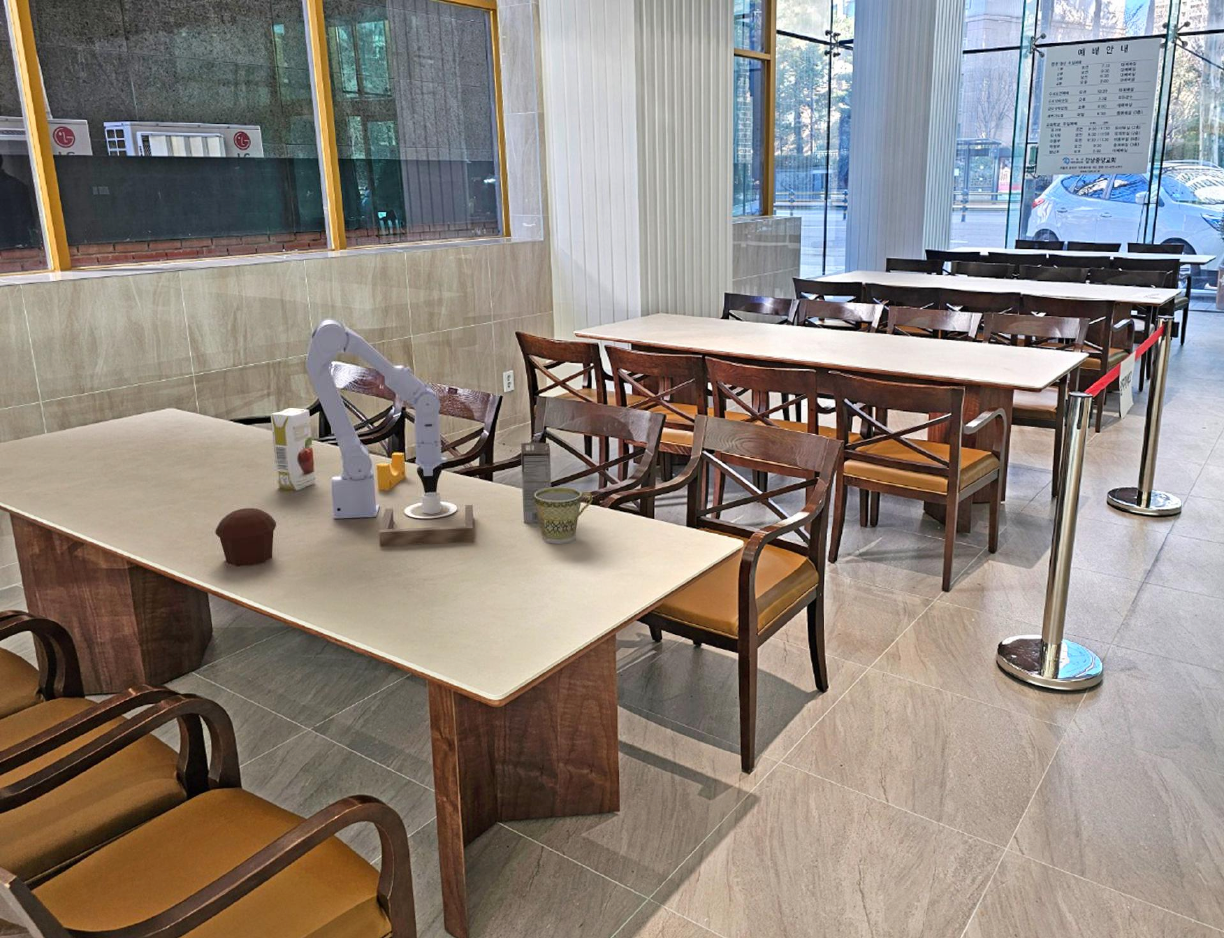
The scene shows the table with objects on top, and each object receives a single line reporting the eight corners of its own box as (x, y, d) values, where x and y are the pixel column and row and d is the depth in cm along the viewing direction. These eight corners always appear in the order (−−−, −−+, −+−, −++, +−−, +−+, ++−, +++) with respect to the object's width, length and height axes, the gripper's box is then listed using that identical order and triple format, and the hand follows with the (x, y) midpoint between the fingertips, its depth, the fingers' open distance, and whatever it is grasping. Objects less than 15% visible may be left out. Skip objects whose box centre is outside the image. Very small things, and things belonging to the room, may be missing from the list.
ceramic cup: (546, 550, 202) (545, 503, 199) (527, 535, 210) (526, 490, 207) (603, 539, 207) (602, 494, 205) (582, 525, 216) (582, 482, 213)
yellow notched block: (389, 476, 254) (387, 452, 252) (405, 477, 253) (404, 452, 251) (371, 490, 242) (369, 465, 241) (388, 490, 242) (386, 465, 240)
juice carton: (273, 488, 243) (265, 413, 238) (296, 479, 251) (289, 406, 245) (297, 492, 240) (290, 416, 235) (320, 482, 248) (313, 409, 243)
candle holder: (411, 524, 218) (410, 505, 217) (399, 508, 229) (398, 490, 228) (463, 516, 223) (462, 498, 222) (449, 501, 234) (448, 484, 232)
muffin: (243, 573, 190) (237, 524, 187) (206, 562, 196) (200, 514, 193) (291, 554, 200) (287, 507, 197) (255, 544, 205) (250, 498, 202)
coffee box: (523, 510, 227) (521, 442, 222) (550, 509, 227) (549, 441, 223) (522, 523, 218) (520, 452, 213) (552, 522, 218) (550, 452, 214)
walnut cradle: (380, 545, 204) (379, 532, 203) (386, 521, 219) (385, 508, 218) (473, 541, 207) (472, 527, 206) (473, 517, 221) (472, 504, 221)
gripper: (444, 448, 219) (447, 506, 222) (446, 432, 232) (449, 487, 236) (412, 449, 218) (416, 507, 221) (415, 433, 231) (419, 488, 235)
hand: (431, 497), depth 229 cm, fingers closed
